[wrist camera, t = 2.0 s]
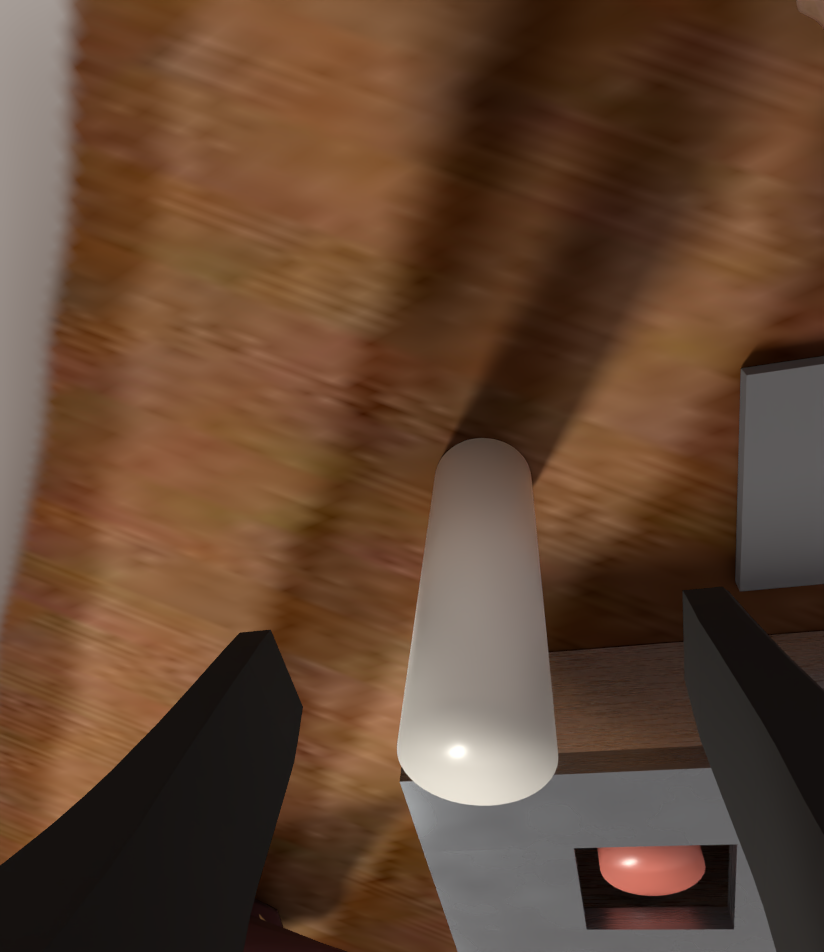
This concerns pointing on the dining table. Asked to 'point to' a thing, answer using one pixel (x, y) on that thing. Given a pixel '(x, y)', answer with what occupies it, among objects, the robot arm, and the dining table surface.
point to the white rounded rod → (480, 637)
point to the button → (652, 868)
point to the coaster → (781, 476)
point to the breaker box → (603, 822)
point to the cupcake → (812, 9)
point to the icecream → (277, 934)
